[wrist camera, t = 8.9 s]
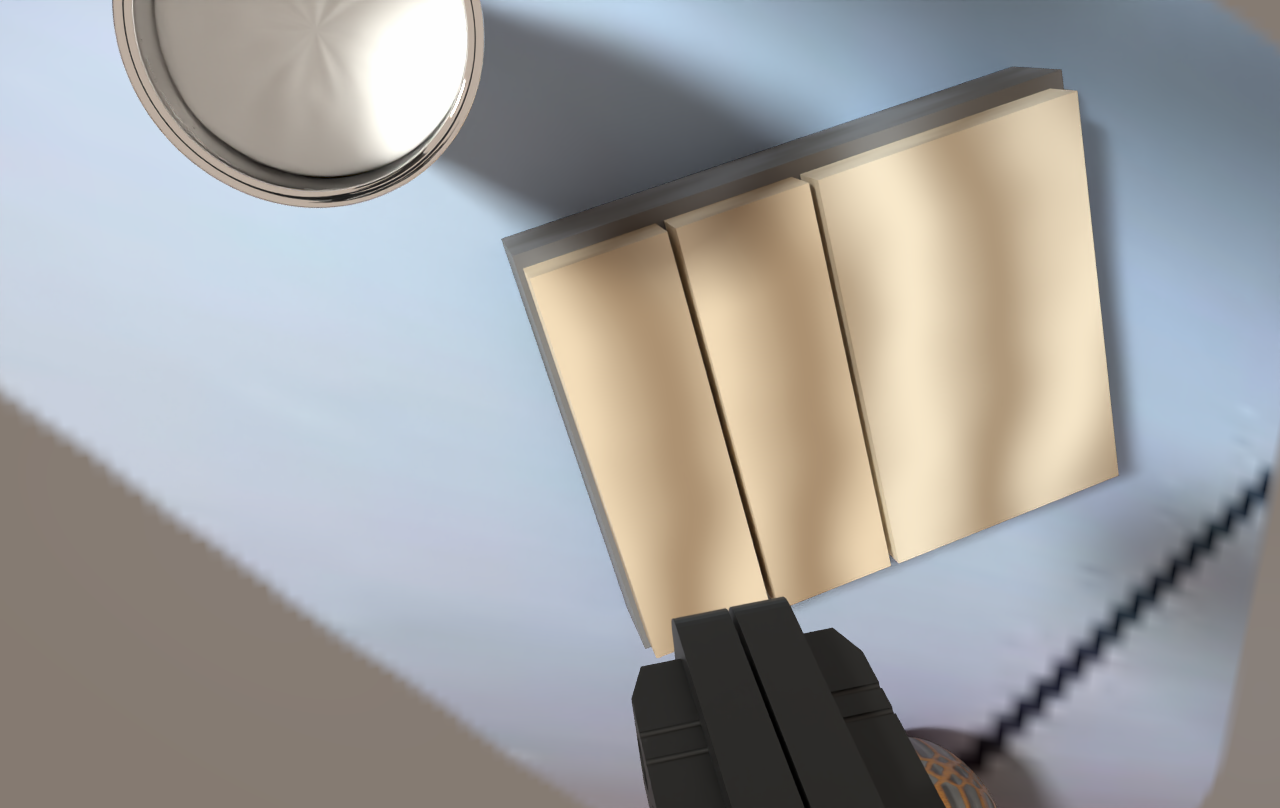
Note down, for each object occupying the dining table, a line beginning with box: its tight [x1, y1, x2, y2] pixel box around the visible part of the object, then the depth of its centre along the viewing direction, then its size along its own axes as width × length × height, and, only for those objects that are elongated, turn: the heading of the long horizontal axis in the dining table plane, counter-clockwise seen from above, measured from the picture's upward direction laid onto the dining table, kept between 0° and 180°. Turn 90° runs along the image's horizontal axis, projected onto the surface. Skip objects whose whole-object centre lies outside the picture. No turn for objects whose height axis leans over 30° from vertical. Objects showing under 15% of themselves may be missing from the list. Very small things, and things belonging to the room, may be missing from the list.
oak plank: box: [800, 88, 1118, 563], centre depth 38 cm, size 10×15×2 cm, turn 16°
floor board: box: [502, 67, 1064, 658], centre depth 39 cm, size 20×16×4 cm
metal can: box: [112, 0, 485, 208], centre depth 26 cm, size 7×7×15 cm
